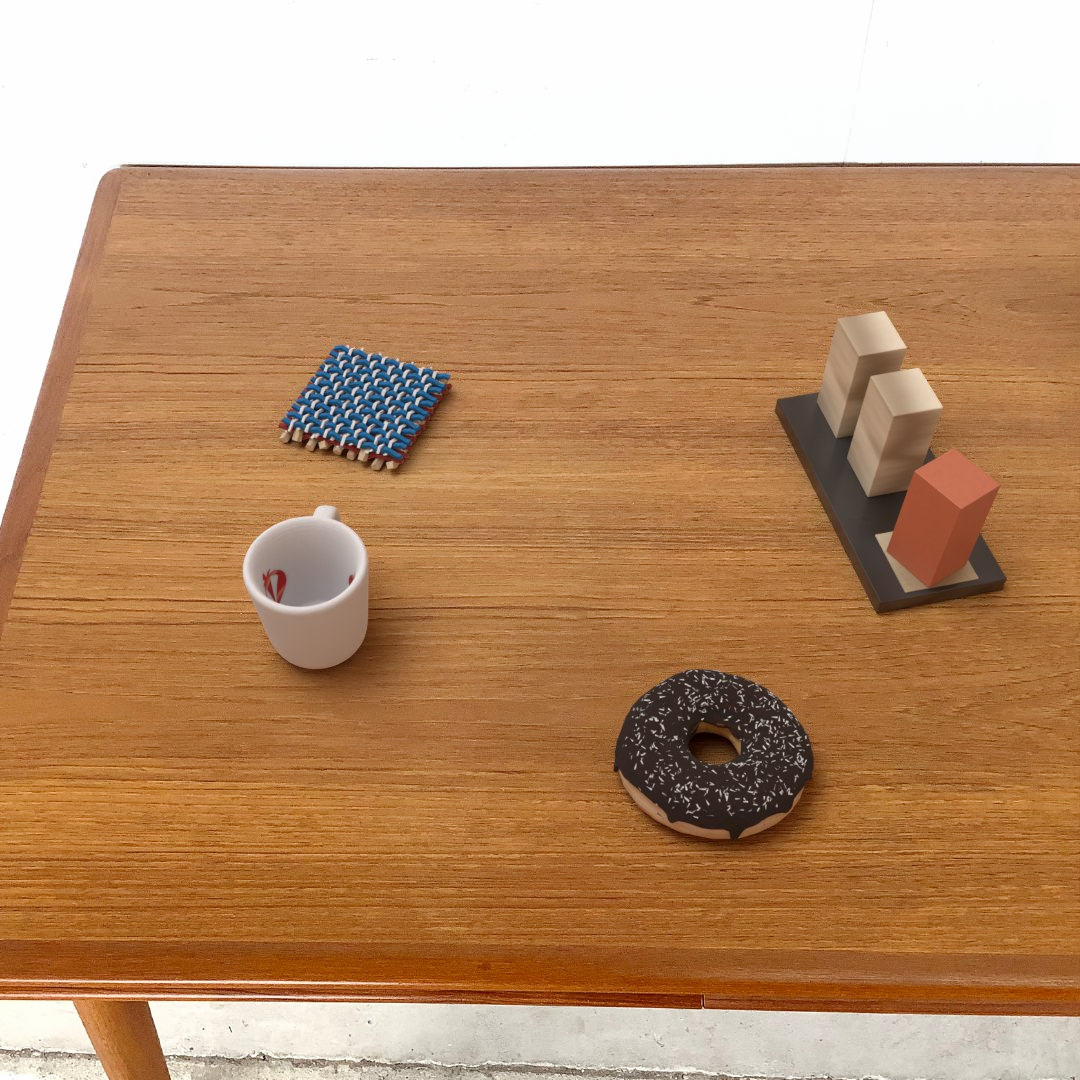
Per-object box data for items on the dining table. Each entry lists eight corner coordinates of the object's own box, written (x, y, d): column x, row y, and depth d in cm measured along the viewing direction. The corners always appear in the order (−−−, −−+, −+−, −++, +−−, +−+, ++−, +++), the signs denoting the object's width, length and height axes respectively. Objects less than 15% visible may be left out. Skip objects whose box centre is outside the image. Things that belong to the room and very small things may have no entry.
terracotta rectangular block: (922, 528, 90) (953, 447, 84) (966, 565, 88) (1001, 484, 82) (885, 551, 89) (914, 470, 83) (928, 588, 87) (961, 509, 81)
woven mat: (335, 355, 105) (332, 335, 104) (456, 388, 102) (455, 368, 101) (274, 441, 100) (270, 422, 98) (399, 479, 97) (397, 460, 95)
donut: (638, 675, 86) (643, 640, 82) (820, 719, 83) (832, 684, 80) (597, 819, 79) (600, 787, 76) (792, 871, 77) (804, 840, 74)
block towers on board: (886, 390, 100) (915, 295, 93) (1002, 589, 89) (1046, 498, 81) (774, 410, 100) (794, 315, 92) (876, 613, 88) (909, 524, 80)
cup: (284, 554, 93) (267, 477, 87) (394, 564, 92) (385, 486, 86) (249, 679, 87) (228, 606, 80) (367, 690, 86) (355, 617, 79)
